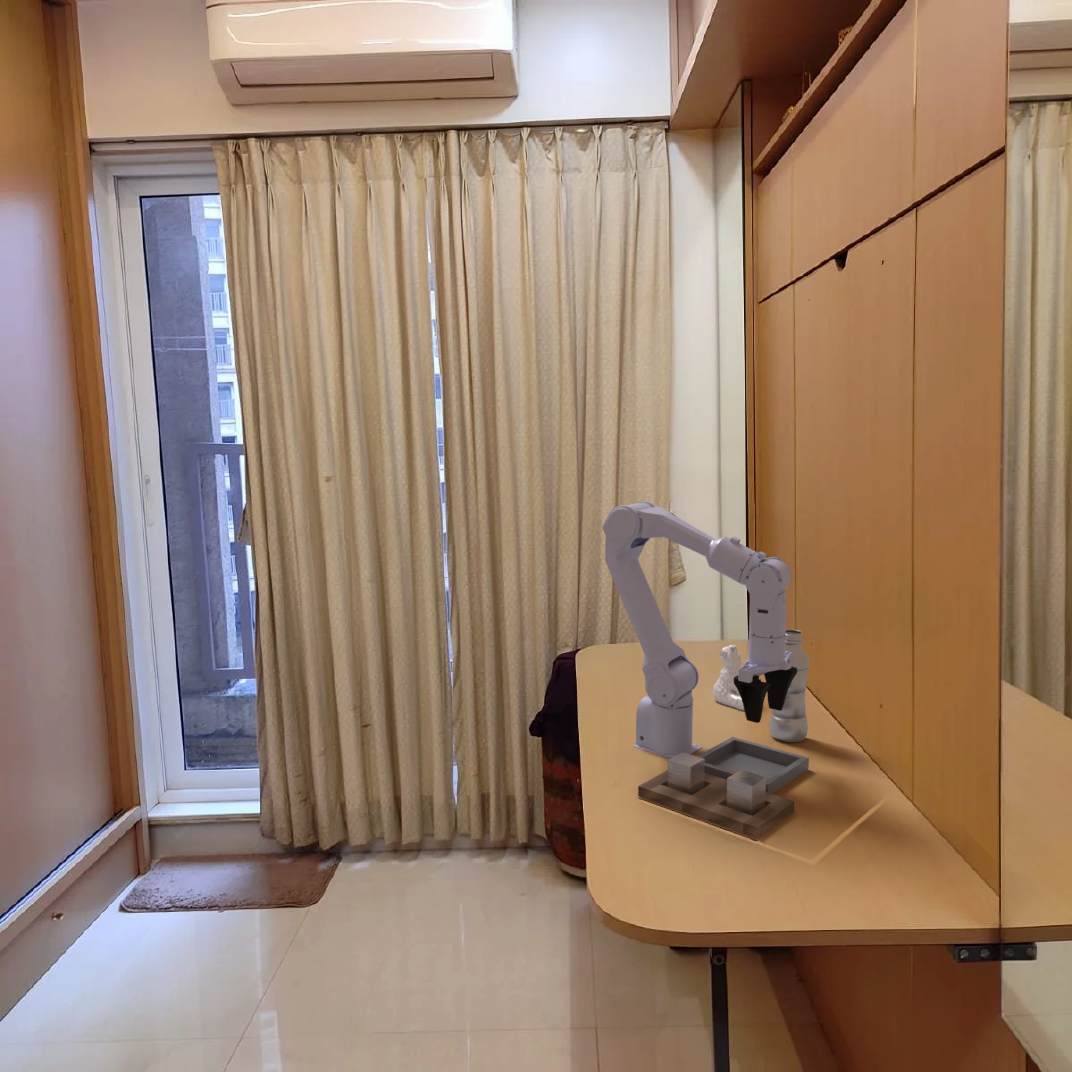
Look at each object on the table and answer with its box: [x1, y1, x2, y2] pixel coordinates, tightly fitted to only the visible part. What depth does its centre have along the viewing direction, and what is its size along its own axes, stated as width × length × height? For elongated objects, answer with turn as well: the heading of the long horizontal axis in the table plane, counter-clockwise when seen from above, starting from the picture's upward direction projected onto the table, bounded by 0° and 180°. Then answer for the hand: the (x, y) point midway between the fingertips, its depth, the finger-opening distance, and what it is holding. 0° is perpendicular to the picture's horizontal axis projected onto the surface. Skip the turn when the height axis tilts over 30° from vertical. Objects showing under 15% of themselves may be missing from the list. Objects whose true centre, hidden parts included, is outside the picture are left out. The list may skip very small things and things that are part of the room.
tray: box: [696, 736, 810, 795], centre depth 138 cm, size 14×14×2 cm
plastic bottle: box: [768, 629, 810, 743], centre depth 152 cm, size 6×7×20 cm
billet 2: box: [726, 770, 766, 816], centre depth 123 cm, size 4×4×6 cm
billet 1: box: [667, 752, 705, 795], centre depth 130 cm, size 4×4×6 cm
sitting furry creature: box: [712, 644, 745, 712], centre depth 173 cm, size 10×9×12 cm
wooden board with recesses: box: [637, 769, 795, 842], centre depth 127 cm, size 20×11×2 cm, turn 47°
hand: (764, 715), depth 139 cm, fingers open, 7 cm apart
